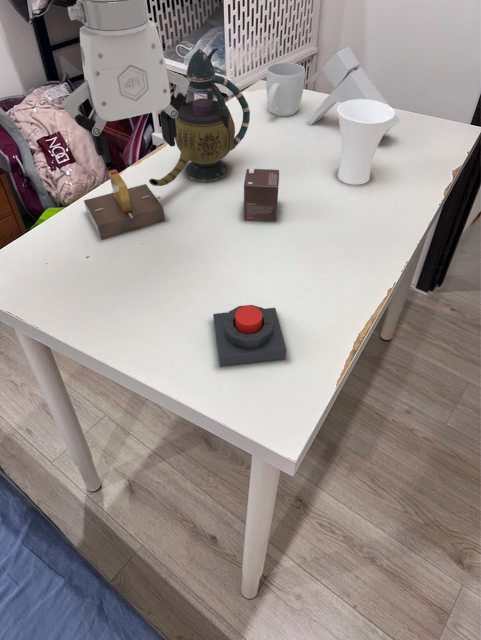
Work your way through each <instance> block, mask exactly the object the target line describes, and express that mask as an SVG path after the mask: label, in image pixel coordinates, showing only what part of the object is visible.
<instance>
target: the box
mask: <svg viewBox="0 0 481 640" xmlns="http://www.w3.org/2000/svg"><path fill="white" fill-rule="evenodd" d="M279 184H280V170H279V169H264V168H247V169H246V170H245V176H244V182H243V221H247V222H248V221H250V222H269V223H274V222H277V216H278V204H279V203H278V202H279V201H278V200H279Z"/></svg>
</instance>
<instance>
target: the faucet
mask: <svg viewBox="0 0 481 640" xmlns="http://www.w3.org/2000/svg"><path fill="white" fill-rule="evenodd" d="M359 67H360V62H359V60H358V59H357V57H356V56H355V54H354V52H353V50H352V49H351V47H350V46H347V47H344V48H343V49H340V50H339V51H337V52H336V53H334V55H333V56H332V57H331V58H330V59H329V60H328V61H327V62H326V63H325V64H324V65H323V67H322V68H321V69H319V70H318V71H316V72H315V73H313V75H312V76H311V78H310V79H309V82H310V83H311V82H316V81H317V80H319V78H320V77H321V75H323V74H324V76H325V77H326V78H327V80H328V81H329V83H330V84H331V85H332V86H333V88H334V89H333V90H332V91H331V92H330V94H329V95H328V96H327V97H326V98H325V99H324V100H323V101H322V103H320V105H319V106H318V107H317V109H316V110H315V112H314V113H313V114H312V115H311V117H310V118H309V124H310V125H313V124H314V123H317V122H318V121H319V120H322V119H323V118H324V116H325V115H326V114H327V113H328V112H329V111H330V110H331V109H332V108H333V107H334V106H335V105H336V104H337V103H340V104H342V103H343V102H346V101H349V100H355V99H368V100H375V101H379V102H382V103H385V104H387V105H389V106H390V104H389V103H388V102H387V100H386V98H384V96H383V95H382V93H381V91H379V89H378V88H377V86H376V84H374V82H373V81H372V80H371V78H370V77H369V76H368V74H367V73H366V71H365V70H364V68H363V67H360V68H359ZM400 122H401V120H400V118H399V116H397V114H396V113H395V115H394V117H393V119H392V121H391V123H390V124H389V126H388V128H387V130H386V131H385V133H387V132H388V131H390V129H392V128H394V127H395V126H396V125H398V123H400Z"/></svg>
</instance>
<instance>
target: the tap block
mask: <svg viewBox="0 0 481 640" xmlns="http://www.w3.org/2000/svg"><path fill="white" fill-rule="evenodd" d="M127 189H128V194H129V199H130V204H131V208H132V211H129V212H125V213H124V211H123V210H122V208H121V206H120V205H119V203H118V202H117V200H116V198H115V197H114V193H113V192H111V193H107V194H102V195H98V196H96V197H92V198H88V199H84V200H83V203H84V207H85V210H86V214H87V217H89V220H90V221H91V223H92V225H93V227H94V229H95V231H96V233H97V234H98V237H99V238H100V240H101V241H102V240H105V239H109V238H112V237H115V236H118V235H122V234H126V233H130V232H132V231H136V230H140V229H142V228H146V227H149V226H153V225H156V224H159V223H162V222H166V216H165V211H164V206H163V205H162V204H161V202H160V201H159V200H158V198H157V197H156V195H155V194H154V193H153V192H152V190H151V189H150V188H149V186H148V185H147V184H146V183H145V184H141V185H137V186H133V187H129V188H127Z"/></svg>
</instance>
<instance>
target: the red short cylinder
mask: <svg viewBox="0 0 481 640" xmlns="http://www.w3.org/2000/svg"><path fill="white" fill-rule="evenodd" d="M242 306H243V307H241V308H239V309H238V310H237V311H236V313H235V325H236V328H237V329H238V330H239V331H240V332H242V333H245V334H252V333H255V332H257V331H259V330H260V328H261V326H262V312H261V311H260V310H259V309H258V308H256V307H254V306H255V305H254V306H244V305H242Z"/></svg>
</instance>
